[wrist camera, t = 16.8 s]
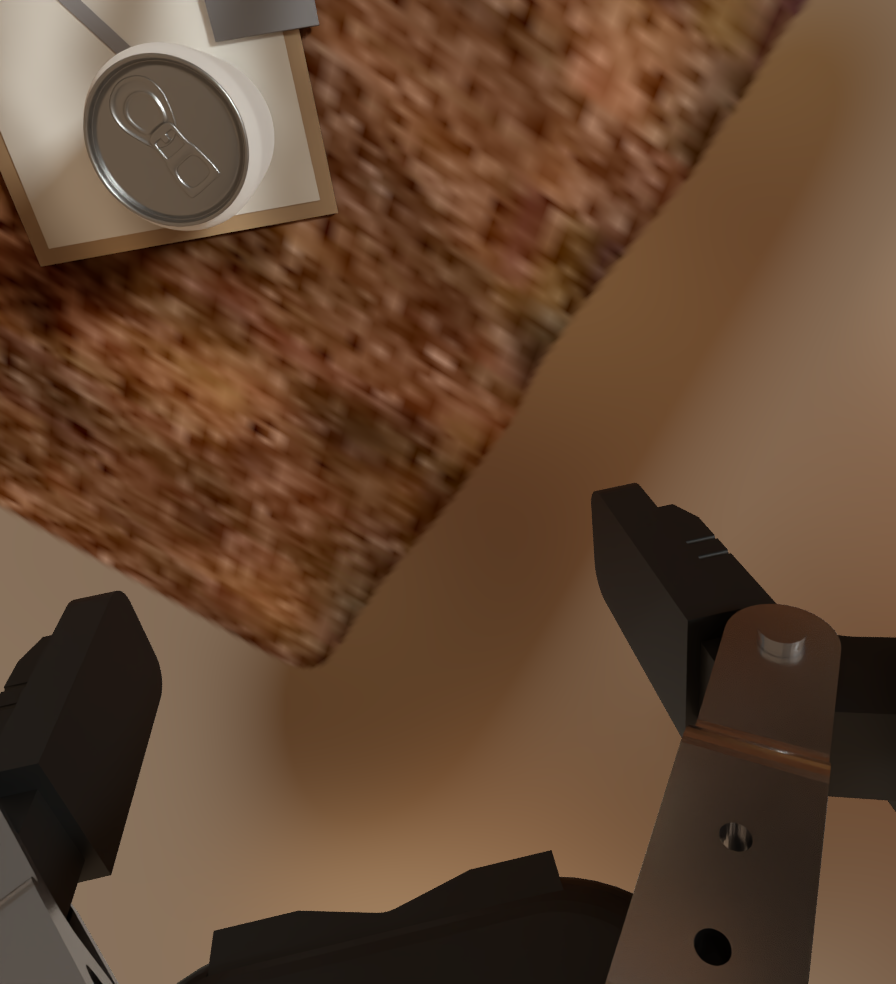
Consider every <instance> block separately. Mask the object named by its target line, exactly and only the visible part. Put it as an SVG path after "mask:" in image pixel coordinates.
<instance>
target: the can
mask: <svg viewBox="0 0 896 984" xmlns="http://www.w3.org/2000/svg"><path fill="white" fill-rule="evenodd" d="M83 132H84V140H85V145H86V149H87V153H88V156H89V159H90V161H91V164H92V166H93V168H94V170H95V172H96V174H97V175H98V177H99V179H100V180H101V182H102V183H103V185H104V186H105V187H106V188H107V190H108V191H109V192H110V193H111V194H112V195H113V196H114V197H115V198H116V199H117V200H118V201H119V202H120V203H121V204H122V205H124V206H125V207H126V208H127V209H129V210H130V211H131V212H133V213H134V214H136V215H137V216H139V217H141V218H142V219H144V220H146V221H148V222H150V223H153V224H155V225H158V226H161V227H164V228H168V229H173V230H181V231H194V230H202V229H207V228H210V227H213V226H216V225H219V224H221V223H223V222H225V221H227V220H228V219H230V218H231V217H233V216H234V215H235V214H237V213H238V212H239V211H240V210H241V209H242V208H243V207H244V206H245V205H246V203H247V202H248V201H249V199H250V198H251V197H252V195H253V194H254V192H255V191H256V189H257V187H258V186H259V184H260V182H261V181H262V179H263V177H264V175H265V174H266V172H267V170H268V167H269V165H270V162H271V159H272V156H273V151H274V126H273V121H272V117H271V114H270V111H269V108H268V106H267V104H266V102H265V100H264V98H263V96H262V94H261V93H260V91H259V90H258V88H257V87H256V86H255V85H254V83H253V82H252V81H251V80H250V79H249V78H248V77H247V76H246V75H245V74H244V73H242V72H241V71H240V70H238V69H237V68H236V67H234V66H232V65H231V64H229V63H227V62H225V61H223V60H221V59H219V58H216V57H214V56H212V55H209V54H206V53H204V52H201V51H199V50H196V49H193V48H190V47H187V46H183V45H179V44H174V43H166V42H151V43H144V44H140V45H136V46H133V47H130V48H128V49H126V50H123V51H122V52H120V53H118V54H117V55H115V56H114V57H112V58H111V59H110V60H109V61H108V62H107V63H106V64H105V65H104V66H103V67H102V68H101V69H100V70H99V72H98V73H97V75H96V76H95V78H94V79H93V81H92V83H91V86H90V88H89V90H88V93H87V97H86V101H85V106H84V115H83Z"/></svg>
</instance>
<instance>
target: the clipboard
mask: <svg viewBox="0 0 896 984" xmlns="http://www.w3.org/2000/svg"><path fill="white" fill-rule="evenodd" d="M313 26H319V21H318V16H317V11H316V6H315V1H314V0H0V172H1V174H2V176H3V179H4V181H5V183H6V186H7V188H8V190H9V193H10V195H11V198H12V200H13V202H14V205H15V207H16V209H17V212H18V214H19V216H20V219H21V221H22V224H23V226H24V228H25V231H26V233H27V235H28V238H29V240H30V242H31V245H32V247H33V249H34V252H35V254H36V257H37V259H38V261H39V264H40V266H41V267H42V266H47V265H53V264H58V263H64V262H69V261H75V260H80V259H86V258H92V257H97V256H103V255H108V254H114V253H119V252H125V251H130V250H136V249H141V248H147V247H152V246H158V245H163V244H169V243H174V242H180V241H185V240H191V239H196V238H202V237H207V236H213V235H218V234H224V233H229V232H235V231H240V230H246V229H251V228H257V227H263V226H268V225H274V224H279V223H285V222H290V221H296V220H301V219H307V218H312V217H318V216H323V215H329V214H334V213H338V210H337V205H336V201H335V196H334V191H333V187H332V182H331V177H330V172H329V168H328V163H327V158H326V154H325V149H324V144H323V140H322V135H321V130H320V125H319V121H318V116H317V111H316V107H315V102H314V97H313V93H312V88H311V83H310V78H309V74H308V69H307V64H306V60H305V55H304V50H303V46H302V41H301V36H300V31H299V29H301V28H307V27H313ZM151 42H166V43H174V44H179V45H183V46H187V47H190V48H193V49H196V50H199V51H201V52H204V53H206V54H209V55H212V56H214V57H216V58H219V59H221V60H223V61H225V62H227V63H229V64H231V65H232V66H234V67H236V68H237V69H238V70H240V71H241V72H242V73H244V74H245V75H246V76H247V77H248V78H249V79H250V80H251V81H252V82H253V83H254V85H255V86H256V87H257V88H258V90H259V91H260V93H261V94H262V96H263V98H264V100H265V102H266V104H267V106H268V108H269V111H270V114H271V117H272V121H273V126H274V151H273V156H272V159H271V162H270V165H269V167H268V170H267V172H266V174H265V175H264V177H263V179H262V181H261V182H260V184H259V186H258V187H257V189H256V191H255V192H254V194H253V195H252V197H251V198H250V199H249V201H248V202H247V203H246V205H245V206H244V207H243V208H242V209H241V210H240V211H239V212H238V213H237V214H235V215H234V216H233V217H231V218H230V219H228V220H227V221H225V222H223V223H221V224H219V225H216V226H213V227H210V228H207V229H202V230H194V231H181V230H173V229H168V228H164V227H161V226H158V225H155V224H153V223H150V222H148V221H146V220H144V219H142V218H141V217H139V216H137V215H136V214H134V213H133V212H131V211H130V210H129V209H127V208H126V207H125V206H124V205H122V204H121V203H120V202H119V201H118V200H117V199H116V198H115V197H114V196H113V195H112V194H111V193H110V192H109V191H108V190H107V188H106V187H105V186H104V185H103V183H102V182H101V180H100V179H99V177H98V175H97V174H96V172H95V170H94V168H93V166H92V164H91V161H90V159H89V156H88V153H87V149H86V145H85V140H84V132H83V115H84V106H85V101H86V97H87V93H88V90H89V88H90V86H91V83H92V81H93V79H94V78H95V76H96V75H97V73H98V72H99V70H100V69H101V68H102V67H103V66H104V65H105V64H106V63H107V62H108V61H109V60H110V59H111V58H112V57H114V56H115V55H117V54H118V53H120V52H122V51H123V50H126V49H128V48H130V47H133V46H136V45H140V44H144V43H151Z"/></svg>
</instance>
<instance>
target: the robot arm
mask: <svg viewBox="0 0 896 984" xmlns="http://www.w3.org/2000/svg"><path fill="white" fill-rule="evenodd" d="M591 508H592V525H593V541H594V558H595V570H596V575H597V580H598V584H599V587H600V590H601V593H602V595H603V598H604V600H605V602H606V604H607V605H608V607H609V609H610V611H611V612H612V614H613V616H614V618H615V620H616V621H617V623H618V625H619V627H620V628H621V630H622V632H623V634H624V636H625V637H626V639H627V641H628V643H629V645H630V646H631V648H632V650H633V652H634V654H635V655H636V657H637V659H638V661H639V662H640V664H641V666H642V668H643V670H644V671H645V673H646V675H647V677H648V678H649V680H650V682H651V684H652V685H653V687H654V689H655V691H656V693H657V695H658V696H659V698H660V700H661V702H662V703H663V705H664V707H665V709H666V711H667V712H668V714H669V716H670V718H671V719H672V721H673V723H674V725H675V727H676V728H677V730H678V732H679V734H680V735H681V737H682V739H681V742H680V746H679V749H678V752H677V755H676V758H675V762H674V765H673V768H672V771H671V774H670V778H669V781H668V784H667V787H666V790H665V794H664V797H663V800H662V803H661V807H660V810H659V813H658V816H657V819H656V823H655V826H654V829H653V832H652V835H651V839H650V842H649V845H648V848H647V852H646V854H645V858H644V861H643V864H642V867H641V870H640V874H639V877H638V880H637V883H636V886H635V890H634V893H630V892H628V891H625V890H623V889H620V888H618V887H615V886H612V885H608V884H605V883H601V882H598V881H593V880H587V879H581V878H573V877H559V874H558V870H557V867H556V864H555V860H554V857H553V854H552V851H551V850H550V851H546V852H543V853H538V854H534V855H529V856H525V857H521V858H517V859H513V860H508V861H504V862H500V863H496V864H492V865H488V866H484V867H480V868H476V869H471V870H469V871H467V872H465V873H463V874H461V875H459V876H457V877H455V878H453V879H451V880H449V881H448V882H446V883H444V884H442V885H440V886H438V887H436V888H434V889H432V890H430V891H428V892H427V893H425V894H423V895H421V896H419V897H417V898H415V899H413V900H411V901H409V902H407V903H405V904H403V905H402V906H399V907H398V908H396V909H393V910H391V911H388V912H384V913H360V912H324V911H322V912H321V911H296V912H291V913H287V914H283V915H279V916H274V917H271V918H266V919H262V920H258V921H254V922H250V923H245V924H241V925H237V926H233V927H228V928H224V929H220V930H216V931H214V933H213V940H212V947H211V955H210V962H209V964H207V965H205V966H203V967H201V968H200V969H198V970H197V971H195V972H193V973H192V974H190V975H189V976H187V977H186V978H184V979H183V980H181V981H180V982H178V983H177V984H808V981H809V972H810V963H811V962H810V961H811V953H812V944H813V934H814V924H815V914H816V905H817V896H818V886H819V877H820V868H821V858H822V849H823V839H824V830H825V819H826V811H827V801H828V796H832V797H833V796H834V797H847V798H862V799H877V800H888V802H889V803H890V804H891V806H892V807H893V809H894V810H895V811H896V638H888V637H850V636H840V635H837V633H836V632H835V630H834V629H833V628H832V627H831V626H830V625H829V624H828V623H827V622H825V621H824V620H822V619H821V618H820V617H818V616H816V615H815V614H812V613H810V612H808V611H806V610H803V609H800V608H797V607H792V606H788V605H781V604H776V603H775V602H774V601H773V599H771V597H770V596H769V595H768V594H767V593H766V592H765V591H764V589H763V588H762V587H761V586H760V585H759V584H758V583H757V582H756V581H755V579H754V578H753V577H752V576H751V575H750V574H749V573H748V572H747V571H746V569H745V568H744V567H743V566H742V565H741V564H740V563H739V562H738V561H737V560H736V558H735V557H734V556H733V555H732V554H731V553H730V554H729V553H728V550H727V548H726V547H725V546H724V545H723V544H722V543H721V542H720V541H719V540H718V539H715V536H714V534H713V533H712V532H711V531H710V530H709V528H708V527H707V526H706V525H705V524H704V523H703V522H702V521H701V520H700V519H699V517H697V516H695V515H693V514H691V513H689V512H687V511H685V510H683V509H681V508H679V507H677V506H675V505H673V504H671V505H666V506H662V507H657V506H656V505H655V504H654V502H653V501H652V500H651V499H650V497H649V496H648V495H647V494H646V493H645V492H644V490H643V489H642V488H641V486H639V484H637V483H632V484H627V485H623V486H618V487H613V488H608V489H603V490H599V491H595V492H593V494H592V498H591ZM4 688H5V691H4V692H1V693H0V984H119V983H118V982H117V980H116V978H115V976H114V975H113V973H112V971H111V969H110V968H109V966H108V964H107V962H106V961H105V959H104V957H103V955H102V954H101V952H100V950H99V949H98V947H97V945H96V943H95V942H94V940H93V938H92V936H91V934H90V933H89V931H88V929H87V927H86V926H85V924H84V922H83V920H82V919H81V917H80V915H79V913H78V912H77V911H76V909H75V908H74V907H73V905H72V904H71V902H72V899H73V896H74V893H75V890H76V887H77V883H79V882H83V881H87V880H92V879H96V878H100V877H105V876H109V875H111V873H112V870H113V866H114V863H115V859H116V856H117V852H118V848H119V845H120V841H121V837H122V834H123V831H124V827H125V823H126V820H127V816H128V813H129V808H130V806H131V802H132V798H133V795H134V791H135V788H136V784H137V780H138V777H139V773H140V769H141V766H142V762H143V759H144V755H145V752H146V748H147V745H148V741H149V738H150V734H151V730H152V726H153V723H154V720H155V716H156V713H157V709H158V705H159V702H160V698H161V693H162V676H161V670H160V666H159V662H158V660H157V657H156V655H155V653H154V651H153V649H152V647H151V645H150V642H149V640H148V638H147V636H146V634H145V632H144V630H143V628H142V626H141V623H140V621H139V619H138V617H137V615H136V613H135V611H134V609H133V607H132V605H131V602H130V601H129V599H128V597H127V596H126V595H125V594H124V593H123V592H121V591H114V592H109V593H104V594H99V595H95V596H90V597H85V598H80V599H76V600H73V601H71V602H70V603H69V604H68V605H67V607H66V609H65V611H64V613H63V615H62V617H61V619H60V621H59V623H58V625H57V626H56V628H55V630H54V632H53V634H52V635H50V636H46V637H43V638H42V639H41V640H40V641H39V642H38V643H37V644H36V645H35V646H34V647H32V648H31V649H30V650H29V651H28V652H27V653H26V654H25V655H24V657H22V658H21V659H20V660H19V661H18V663H17V664H16V666H15V668H14V670H13V672H12V674H11V675H10V677H9V679H8V681H7V682H6V684H5V686H4Z"/></svg>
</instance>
